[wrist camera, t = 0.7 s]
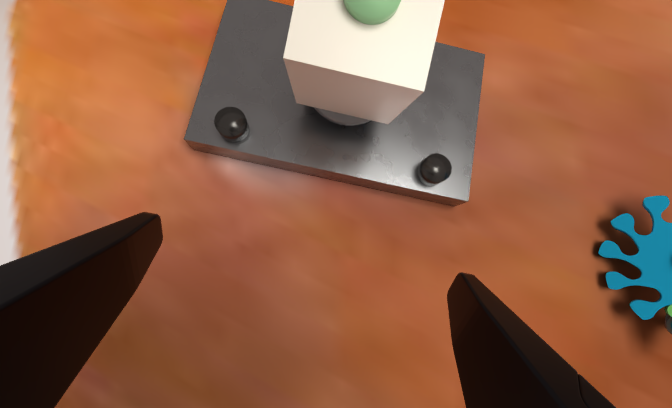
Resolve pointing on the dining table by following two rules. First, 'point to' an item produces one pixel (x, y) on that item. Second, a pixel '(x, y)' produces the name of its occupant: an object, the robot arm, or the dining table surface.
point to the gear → (646, 259)
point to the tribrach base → (323, 135)
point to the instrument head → (360, 56)
